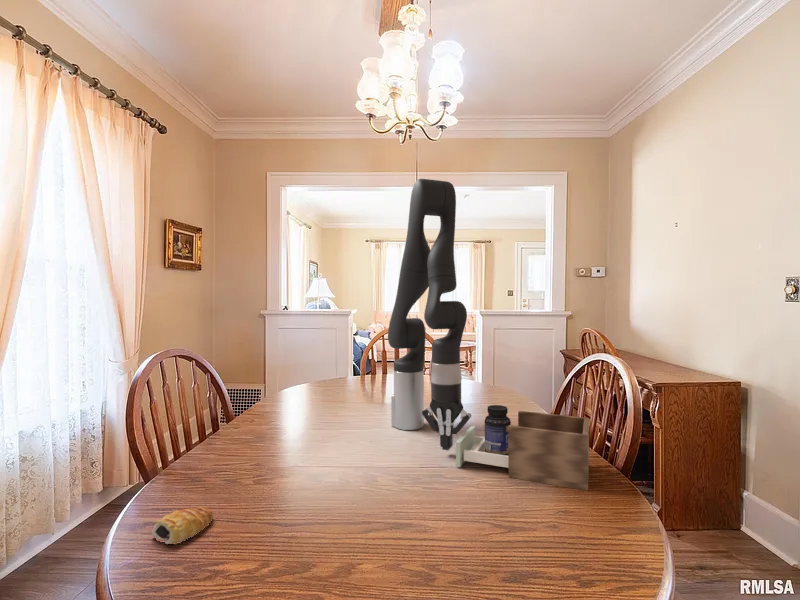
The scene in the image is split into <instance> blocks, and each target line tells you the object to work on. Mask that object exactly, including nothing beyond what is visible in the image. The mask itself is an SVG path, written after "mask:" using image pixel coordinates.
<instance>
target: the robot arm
mask: <svg viewBox="0 0 800 600" xmlns="http://www.w3.org/2000/svg"><path fill="white" fill-rule="evenodd" d="M412 186H413V187H412V190H411V195H410V202H409V212H408V222H407V231H406V232H407V234H406V239H405V244H404V251H403V255H402V259H401V266H400V271H399V276H398V277H399V279H398V285H397V289H396V297H395V301H394V305H393V309H392V312H391V316H390V320H389V323H388V328H387V342H388V345H389V346H390V347H391V348H393V349H398V350H399V349H400V350H401V349H403V350H404V349H409V350H408V352H407V353H406V354H405V355H404V356H402V357H399V358H397V359H395V361H393V394H392V395H391V396H390V397H391V399H390V400H391V401H390V407H391V408H390V410H391V414H390V415H391V427H393V428H396V429H399V430H404V431H413V430H420V429H422V428H424V426H425V425H424V424H425V423H424V422H425V421H426V422H427V424H428V425H429V426H430V427H431V429H432V431H433V432H436V433H438V434H439V443H440V444H439V445H440V448H441V450H442V451H443V450H444V451H450V450H451V449H452V447H453V440H454V439H453V437H454V435H457V434H458V433H460V431H461V430H462V428H464V426H465V425H466V424H467V423H468V422H469V420H471V418H472V413H469V412H467V411H466V410H464V406H463V403H462V380H463V378H462V368H461V344H462V338H463V335H464V331H465V327H466V323H467V319H468V318H467V317H468V314H467V313H468V312H467V309H466V307H465V305H464V303H462V302H461V301H458V300H442V301H441V297H442V295H444V294H447V293H451V292H453V291H455V290H456V288H457V273H456V264H455V236H456V234H455V232H456V211H457V196H456V190H455V189H456V188H455V187H454V185H453V184H452V182H450V181H446V180H445V181H444V180H437V179H427V178H419V179H417V180H416V181H415V182H414V184H413V185H412ZM426 216H431V217H439V219H440V228H439V232H438V235H437V237H436V239H435V241H434V243H433V245H432V247H431V248H430V246H429V243H428V240H427V239H426V235H425V231H424V230H425V227H424V226H425V225H424V223H425V217H426ZM427 290H428V292H427V298H426V303H425V309H424V316H423V317H424V321H423V320H422V318H417V317H415V318H413V317H409V318H408V315H409V313H410V311H411V309H412V308H413V306H414V305H415V304H416V303H417V301H419V300H420V298H421V297H422V296H423V295H424V294H425V293H426V291H427ZM424 322H425V323H424ZM425 324H426V325H427V327H428V328H429V329H432V330H448V332H447V333H446V335H445V336H443V337H440V338H436V339H434V340H433V341H432V343H431V368H430V369H431V370H430V381H431V382H430V384H431V385H430V387H431V389H430V395H431V396H430V397H431V401H430V403H429V407H427V408H425V407H424V406H425V404H424V403H425V402H424V401H425V400H424V397H425V396H424V395H425V393H424V391H425V390H424V389H425V388H424V387H425V386H424V384H425V383H424V381H425V380H424V364H425V357H426V356H425V352H426V350H425V349H426V327H425ZM424 408H425V409H424ZM458 417H459V419H460V421H459V422H458V423H457V425H456V426H455V423H456V420H457V418H458Z"/></svg>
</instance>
